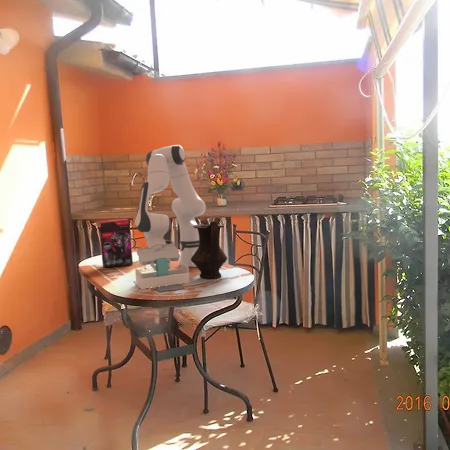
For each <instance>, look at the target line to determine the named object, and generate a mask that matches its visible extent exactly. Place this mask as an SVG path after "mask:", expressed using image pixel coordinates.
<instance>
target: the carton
mask: <svg viewBox="0 0 450 450" xmlns="http://www.w3.org/2000/svg"><path fill="white" fill-rule="evenodd" d="M179 263H180V262H179ZM180 264H181V266H180V268H175V269H174V268H173V269H168V270H169V275H167V276H160V277H157V276H156V271H150V272H144V273H142V272H141V271H140V270H139V268H137V267H135V269H134V271H135V272H134V274H135V280H133V283H134V284H135V285H137V287H138V288H140V289H141V290H146V288H149V289H152V288H151V287H159V286H166V285H174V284H179V285H184V284H183V283H185V284H190V268H189V267H190V266H186V265H184V264H183V263H180Z"/></svg>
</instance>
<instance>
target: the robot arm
mask: <svg viewBox="0 0 450 450" xmlns="http://www.w3.org/2000/svg"><path fill="white" fill-rule="evenodd" d="M186 158H187V157H186V152H185V149H184V147H183V146H181V145H180V144H173V145H169V146H163V147H160V148H157V149H154V150H151V151H149V152H148V153H147V155H146V157H145V162H146V165H147V179H146V181H145V182H143V183H142V185H141V187H140V192H139V198H138V206H137V212H136V214H135V219H134V226H135V228H136V229H137V231H138V232H140V233H143V236H144V239H145V244H146V247H143V248H138V249H137V250H136V254H137V256H138V263H139V265H141V266H147V265H149V266H151V268H153V272H156V270H158V268H157V266H156V262H155V261H156V259H158V258H167V259H168V270H171V263H172V262H178V261H179V263H178V265H179V266H180V267H181V264H180V263H183V264H184V265H186V266H188V267H192V268H193V267H194V268H197V266H196V265H195V264H194V263H193V262H192V261H191V258H192V256H193V255H194V253H195V252H196V251H197V249H198V247H199V244H200V243H199V242H200V241H199V233H198V229H197V228H194V227H193V226H194V225H199V224H198V222H197V221H196V217H201V216H202V215H203V214H204V213H205V212H206V208H207V206H206V203H205V201H204V200H203V199H202V198H201V197H200V196H199V195H198V193H197V192H196V190H195V188H194V186H193V184H192V183H193V182H192V181H191V178H190V174H189V172H188V169H187V165H186V163H185V161H186ZM169 184H170V186H171V189H172V191H173V192H174V193H175V195H177V198H176V197H175V199H174V200H173V201H172V202H171V210H172V212H173V213H174V214H175V216H176V217H175V218H176V219H177V223H178V227H179V234H180V236H179V237H180V238H179V239H180V240H179V249H180V252H179V250H178V248H177V247H176V246H175V242H174V241H173V240H168V239H164V238H163V237H164V236H165V235H167V234H168V232H169V231H170V230H171V229H172V220H171V219H170V216H169V215H167V214H163V213H154V212H153V213H152V212H149V204H150V203H149V202H150V196H151V195H154V194H157V193H160V192H163V191H164V190H166V189H167V187H168V186H169Z"/></svg>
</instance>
